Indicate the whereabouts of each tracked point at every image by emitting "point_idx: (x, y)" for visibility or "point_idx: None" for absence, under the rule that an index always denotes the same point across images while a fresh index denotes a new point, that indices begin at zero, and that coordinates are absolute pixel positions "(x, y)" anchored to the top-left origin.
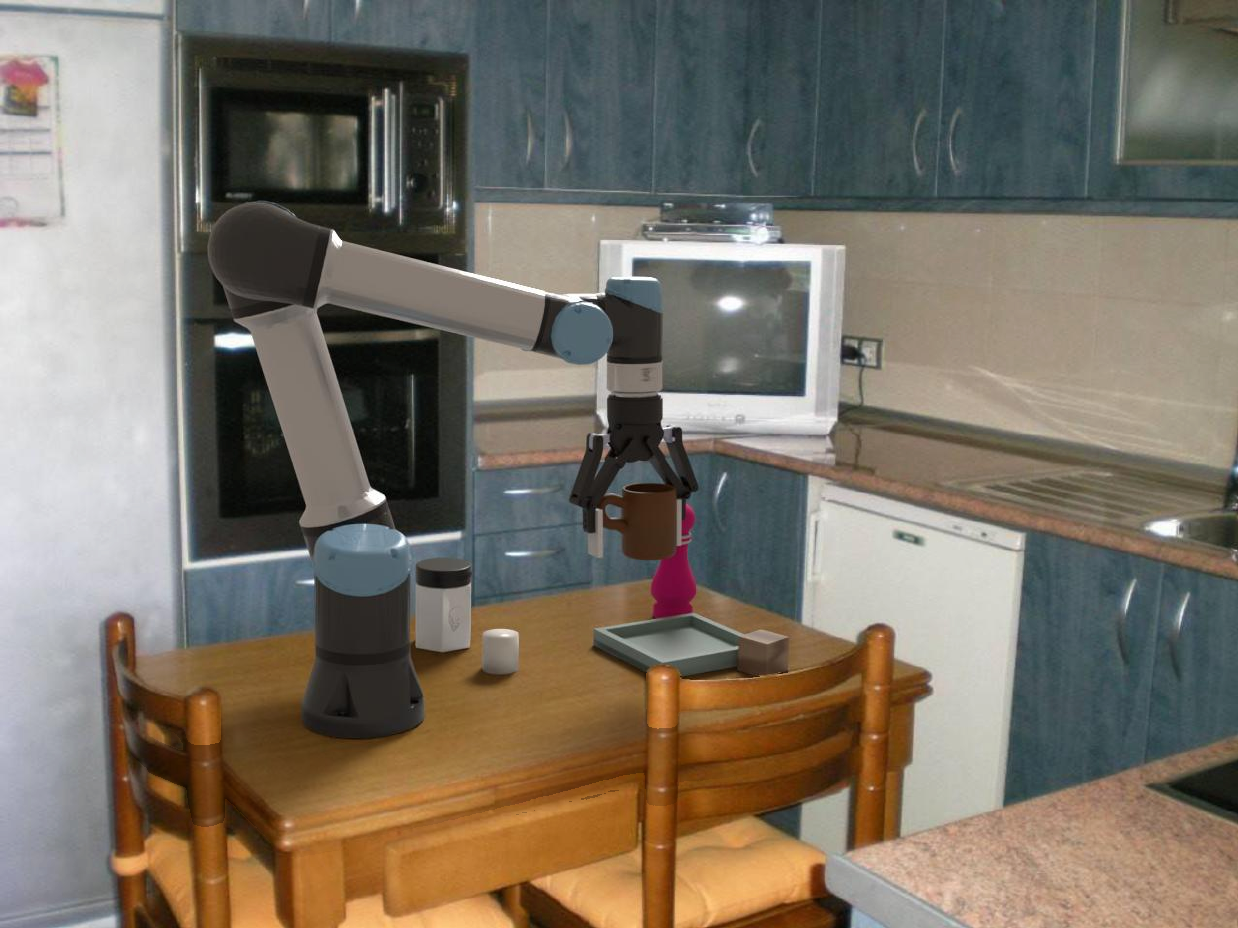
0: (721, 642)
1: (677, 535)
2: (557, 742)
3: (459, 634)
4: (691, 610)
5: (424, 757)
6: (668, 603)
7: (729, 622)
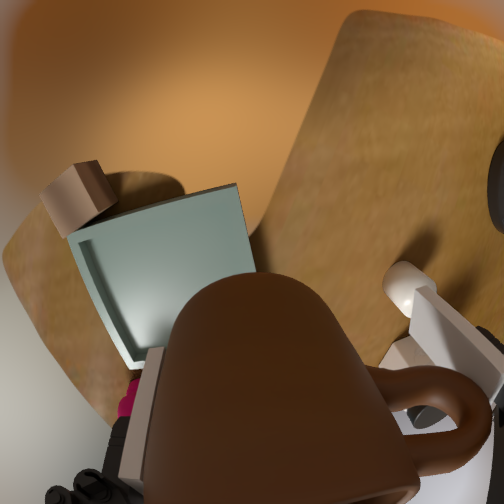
0: (113, 289)
1: (156, 370)
2: (419, 47)
3: (409, 347)
4: (129, 387)
5: (498, 86)
6: None
7: (94, 360)
